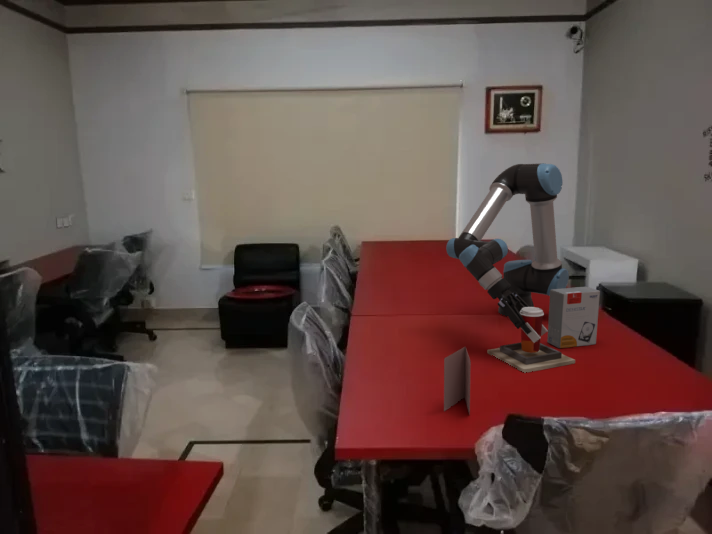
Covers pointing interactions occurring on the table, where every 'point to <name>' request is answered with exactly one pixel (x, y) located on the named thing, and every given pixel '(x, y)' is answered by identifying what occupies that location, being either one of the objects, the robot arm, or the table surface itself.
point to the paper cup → (535, 321)
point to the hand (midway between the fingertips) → (541, 336)
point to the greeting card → (457, 378)
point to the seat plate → (530, 357)
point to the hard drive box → (573, 316)
